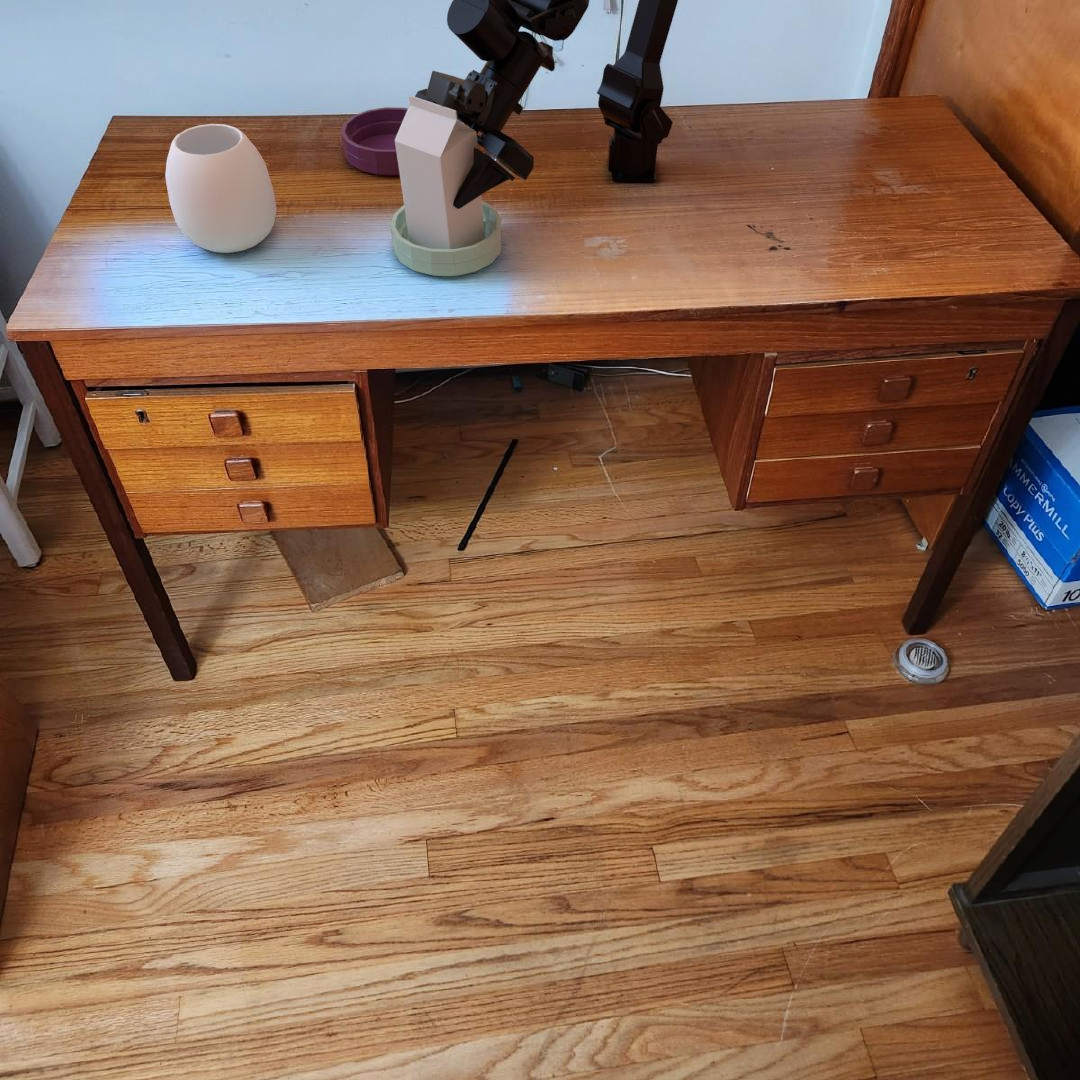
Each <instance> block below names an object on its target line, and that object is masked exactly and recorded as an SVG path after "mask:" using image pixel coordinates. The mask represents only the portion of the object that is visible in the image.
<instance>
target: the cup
mask: <svg viewBox="0 0 1080 1080" xmlns="http://www.w3.org/2000/svg"><path fill="white" fill-rule="evenodd" d="M165 166H166V167H165V175H164V176H165V184H166V189H167V196H168V200H169V205H170V208H171V212H172V216H173V218H174V221H175V225H176V226H177V227H178V228H179V230H180V232H182V234H183V235H184V236H185V238H187V239H188V241H190V242H191V243H192V244H194V245H196V246H198V247H200V248H202V249H203V250H207V251H210V252H213V253H224V254H230V253H238V252H242V251H247V250H248V249H250V248H251V249H252V248H254V247H255V246H257V245H258V244H259V243H260V242H262V241H263V240H265V239H266V238H267V236H269V234H270V233H271V231H272V229H273V227H274V226H275V225H274V224H275V221H276V215H277V210H278V208H277V203H276V197H275V191H274V187H273V184H272V180H271V177H270V174H269V171H268V167H267V164H266V161H265V160H264V158H263V157H262V155H261V153H260V152H259V150H258V149H257V147H256V146H255V145H254V143H253V142H252V141H251V140H250V139H249V137H247V135H246V134H245V133H244V132H243V131H242V130H241V129H239V128H237V127H235V126H232V125H228V124H223V123H218V124H217V123H208V124H200V125H196V126H192V127H189V128H186V129H185V130H183V131H181V132H179V133H178V134H176V135H175V137H174V138H173V140H172V141H171V143H170V147H169V151H168V154H167V157H166V165H165Z"/></svg>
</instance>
